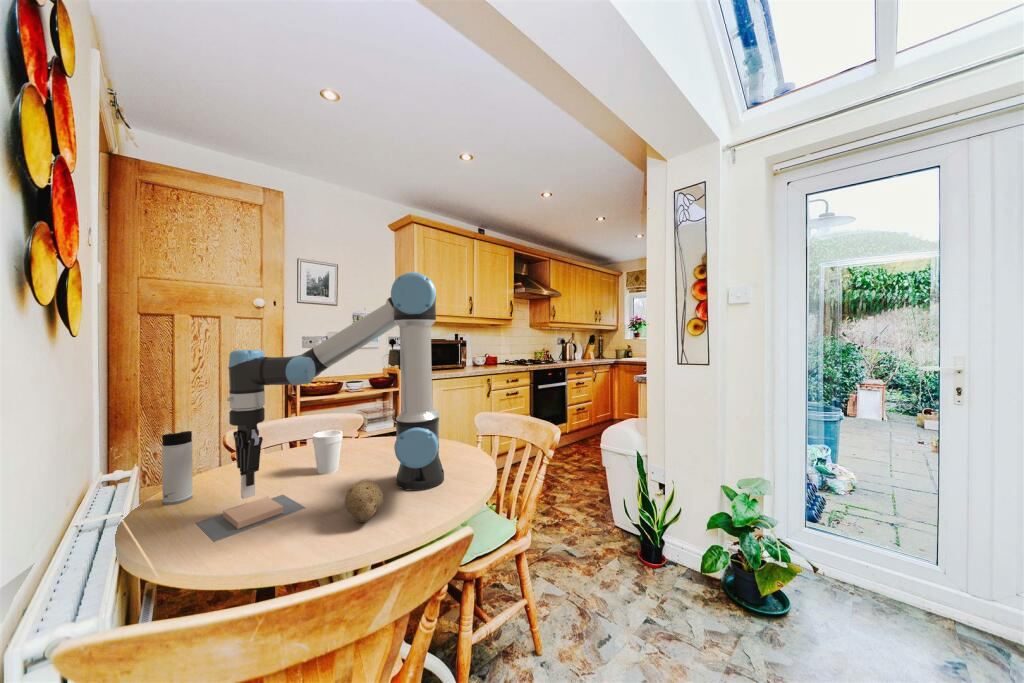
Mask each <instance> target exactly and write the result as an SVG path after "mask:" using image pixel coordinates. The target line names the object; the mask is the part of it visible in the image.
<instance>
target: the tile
mask: <svg viewBox="0 0 1024 683" xmlns="http://www.w3.org/2000/svg"><path fill="white" fill-rule="evenodd" d="M281 513H283V506H282V505H280V504H278V503H277V502H275V501H274V500H272V499H271V498H270V497H269V496H265V497H262V498H258V499H255V500H252V501H248V502H246V503H243V504H240V505H236V506H234V507H230V508H227V509H223V510H222V514H223V517H224V518H225V519H226V520H228V521H229V522H230V523H231V524H232V525H234V526H235V527H236V528H237V529H239V528H242V527H245V526H247V525H250V524H253V523H256V522H259V521H261V520H264V519H267V518H270V517H272V516H275V515H278V514H281Z"/></svg>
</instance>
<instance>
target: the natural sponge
mask: <svg viewBox="0 0 1024 683" xmlns="http://www.w3.org/2000/svg"><path fill="white" fill-rule="evenodd" d="M383 495H384V494H383V492H382V491H381V488H380V487H379V485H377V483H375V482H373V481H370V480H360V481H358V482H355V483H354V484H352V486H350V488H349V489H348V490H347V492H346V493H345V497H344V505H345V508H346V510H347V513H348V514H349V516H350V517H351V518H352V519H353V520H355V521H357V522H360V523H364V522H367V521H369V519H371V518H372V517H373V516H374V515H375V513H376V512H377V511H378V509H380V508H381V506H382V504H383V503H384V502H383V501H384V496H383Z"/></svg>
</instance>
